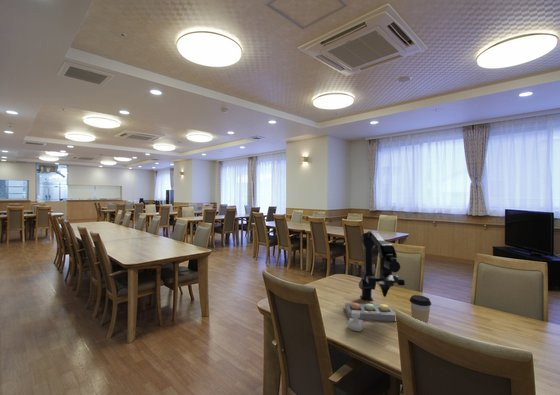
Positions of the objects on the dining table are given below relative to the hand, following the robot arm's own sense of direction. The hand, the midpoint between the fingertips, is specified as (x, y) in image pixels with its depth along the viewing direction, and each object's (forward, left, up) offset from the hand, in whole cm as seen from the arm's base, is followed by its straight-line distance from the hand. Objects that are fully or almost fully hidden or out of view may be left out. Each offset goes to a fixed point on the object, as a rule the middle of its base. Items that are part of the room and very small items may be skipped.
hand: (384, 296), depth 150 cm
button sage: (0, -8, -8) cm, 11 cm away
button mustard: (0, 0, -8) cm, 8 cm away
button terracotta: (0, -15, -8) cm, 17 cm away
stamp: (+18, -19, -10) cm, 28 cm away
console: (0, -8, -10) cm, 12 cm away
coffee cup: (+14, +12, -10) cm, 21 cm away
